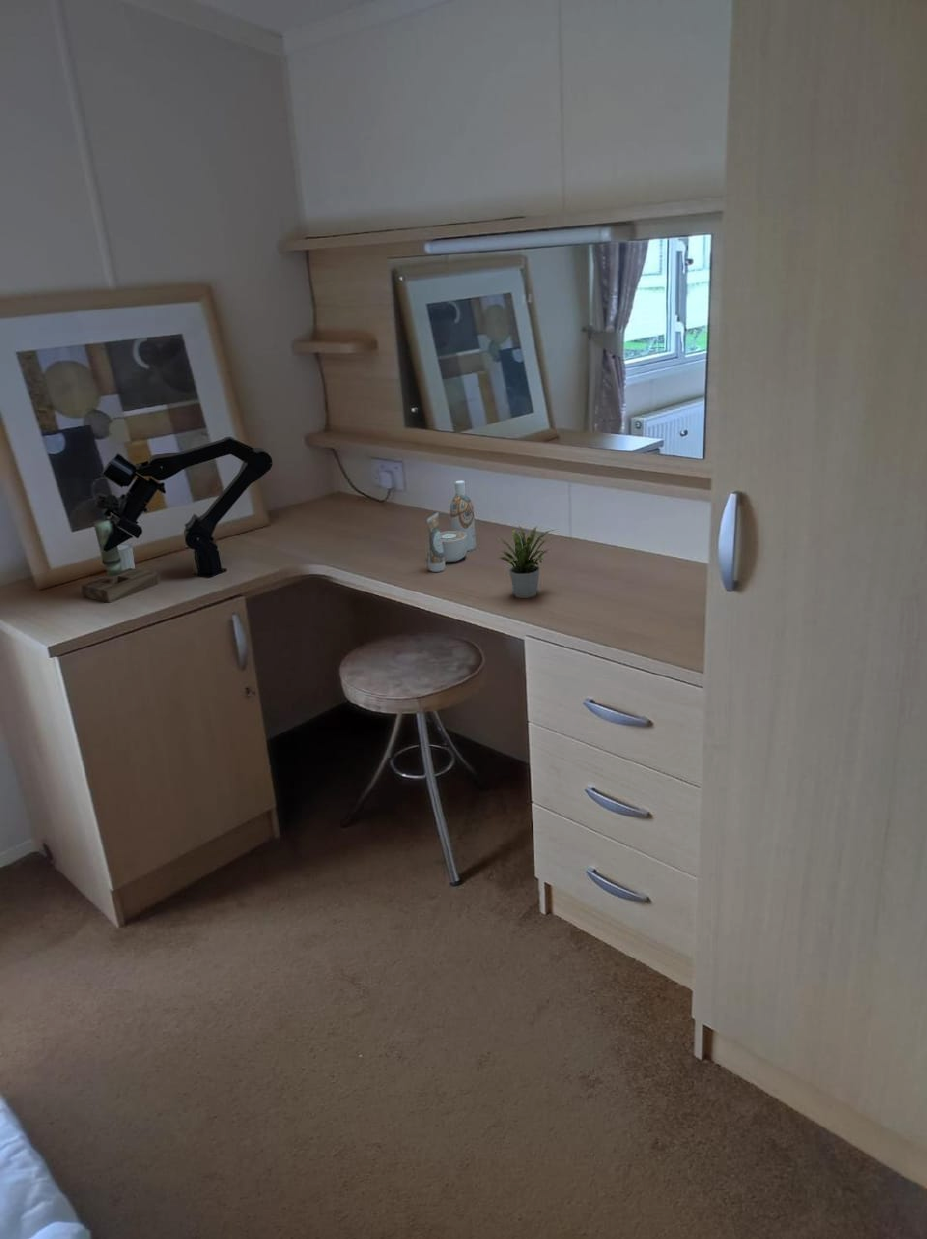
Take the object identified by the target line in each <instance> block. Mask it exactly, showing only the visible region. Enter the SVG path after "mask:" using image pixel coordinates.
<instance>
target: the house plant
mask: <svg viewBox="0 0 927 1239" xmlns="http://www.w3.org/2000/svg"><path fill="white" fill-rule="evenodd" d="M518 528H519V529H517V530H518V532H519V534H518V533H517V531H516V530H515V529H513V528H511V531H512V536H513V542H514V546H515V547H514V549H513V548H512V547H511V546H510V544H508V543H507V542H506V541H505V540H503V538H500V537H498V536H495V535H494V536H493V537H494V538H497V539H499V540H500V541H501V542H502V543H503V544H504V545H505V546H506V547H507V548H508V549H509V550H510V552H511V553H512V554H513V555H511V554H510V553H508V551H506V550H502V549H501V551H502V553H504V555H505V556H506V557H505V556H501V557H498V559H499V560H502V561H505V562H507V563H508V564H509V563H510V564H511V565H512V566H510V567H509V569H508V571H509V577H510V580H511V586H512V590H513V594H514V597H516V598H521V599H528V598H532V597H535V596H536V595H537V591H538V585H539V583H538V582H539V576H540V567H539V562H540V563H541V562H542V560H543V557H542V555H544V554H545V553H546V554H548V551H549V550H551V548H546V549H544V550H539V549H540V548H541V546H543V544H544V543H545V542H548V541H549V540H552V539H553V538H551V537H550V538H546V539H542V538H543V537H544V536H546V535H547V534H548V533H550V532H554V531H555V530H554V529H551V530H548V531H545V532H542V534H541V535H539V536H538V537H537V538H536V540H535V542H533V541H534V539H535V536H536V530H537V526H535V527H533V529H532V530H531V533H530V535H529V536H528V537H527V538H526V535H525V532H524V530H523V528H522V527H521V526H520V525H518ZM539 541H540V544H539ZM541 541H542V542H541ZM533 543H534V544H533ZM537 544H539V545H538V546H537ZM535 547H537V549H535ZM534 549H535V552H534V553H533V551H534ZM552 549H554V548H553V547H552ZM538 554H539V555H538ZM537 555H538V557H537V558H535V557H536V556H537ZM513 556H514V557H513ZM515 558H516V559H515ZM537 561H538V562H537Z"/></svg>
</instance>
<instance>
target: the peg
mask: <svg viewBox="0 0 927 1239" xmlns="http://www.w3.org/2000/svg"><path fill="white" fill-rule="evenodd" d="M110 522H111V519H104V518H101V519H98V520H94V521H93V522H92V523H93V527H94V531H95V535H96V540H97V543H98V547H99V552H100V555H101V559H102V561H101V562H102V564H103V566H105V569H106V573H107V576H114V575H118V574H121V573H122V572H121V568H120V563H119V562H120V561H121V559H120V556H119V552H118V547H117V546H116V547H114V548H113V549H111V550H109V551H108V552H106V551H104V550H103V548H104V546H105V544H106V542H107V540H108V537H109V535H110V533H111V531H112V529H111V524H110ZM111 523H112V522H111Z"/></svg>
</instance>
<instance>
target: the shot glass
mask: <svg viewBox="0 0 927 1239" xmlns="http://www.w3.org/2000/svg"><path fill="white" fill-rule="evenodd" d="M117 547H118V552H119V556H120V559H121V561H120V562H119V563H120V568H121V571H123V570H126V569H128V568H133V569H136V566H135V564H136V563H135V558H134V551H133V550H134V548H133V545H132V544H129V543H127V544H125V543H124V544H123V543H121V544H119V545H118V546H117Z"/></svg>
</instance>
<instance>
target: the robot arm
mask: <svg viewBox="0 0 927 1239" xmlns="http://www.w3.org/2000/svg"><path fill="white" fill-rule="evenodd" d="M228 455H231V456H233V457H235V458H237V459H239V460H241V461H242V462H243V463H242V465H241V466H240V469H239V471H238V473H237V474H236V476H234V477H233V479H232V481H231V482H230V483H229V484H228V485H227V486H225V489H224V490H223V491H222V492H221V493H220V494H219V496H218V497H217V498H216V499H215V501H213V503H212V504H211V505H210V506H209V508H208V509H207V510H206V511H205V512H204V513H202V515H200V516H198V515H197V514H195V513H193V515H192V517H191V518H190V520H189V521H188V522H187V523H184V526H185V528H184V529H183V537H184V540H185V541H184V542H185V544H186V546H187V547H188V548H189V549H191V550H194V551H193V554H194V560H195V566H196V570H197V571H194V572H193V575H195V576H199V577H204V578H212V577H214V576H217V575H219V574H222V573H224V572H226V571H227V567H222V562H221V556H220V551H219V549H218V548H219V546H218V543H217V541H216V539H215V537H214V536H213V534H214V532H215V530H216V527H217V526H218V523H220V521H221V520H222V519H223V517H225V515H226V514H227V513H228V512H229V511H230V509H231V508H232V507H233V505H235V503H236V502H237V501H238V499H240V498H241V496H242V495H243V494H244V492H246V491H247V489H248V488H249V487H250V486H251V484H253V483H255V482H256V481H258V480H259V479H261V478H262V477H263V476H265V475H266V474H267V473H269V471H271V468H272V466H273V458H272V456H271V455H270V454H269V453H268V451H267V450H266V449H264V448H261V447H252V446H250V445H248V444H245V443H243V442H241V441H240V440H237V439H235V438H234V437H232V436H225V437H224V438H222V439H218V440H216V441H213V442H209V443H205V444H203V445H200V446H197V447H193V448H190V449H186V450H183V451H178V452H165V453H156V454H154V455H152V456H150V457H149V459H148V460H146V461H143V462H139V463H136V464H135V463H133V462H131V461H130V460H128V459H127V458H125V457H124V456H123V455H122V454H121V453H119V452H118V453H116V454H115V455H114V457H112V458H111V460H110V461H109V462H108V463H107V464H106V466H105V467H104V469H103V471H102V472H101V476H103V477H104V478H106V479H108V480H109V481H110V482H112V483H114V484H115V485H117V486H119V487H120V488H123V487H128V488H129V487H130V488H129V489H128V491H127V492H126V493H123V494H121V495H120V496H119V497H118V496H117V497H116V495H115V494H110V493H107V494H105V493H100V492H96V493H95V500H94V503H93V505H94V506H95V507H96V508H98V509H102V511H101V513H102V514H103V515H104V516H103V519H111V522H112V523H111V522H110V524H111V529H112V531H111V533H110V535H109V537H108V540H107V542H106V544H105V546H104V548H103V550H104V551H106V552H108V551H109V550H111V549H113V548H114V547H116V546H118V545H122V544H123V543H124V542H126V541H128V540H130V539H132V538H136V539H139V538H140V536H141V535H142V534H143V529H142V526H140V525H139V522H138V520H139V518H140V517H141V515H142V514H143V513H146V512H147V511H148V508H147V506H148V505H149V504H150V502H151V501H152V499H153V497H154V496H155V495H156V493H157V492H158V491H159V492H161V493H163V494H166V493H167V490H166V487H165V485H166V484H165V482H164V481H166V480H167V479H169V478H172V477H173V476H175V475H177V474H179V473H180V472H181V471H183V470H185V469H187V468H189V467H190V468H191V467H192V466H193V467H194V466H195V465H199V464H202V463H205V462H208V461H212V460H215V459H218V458H221V457H225V456H228ZM145 477H147V478H145ZM135 478H136V479H135ZM159 481H161V482H159ZM132 482H133V483H132ZM130 485H131V486H130ZM106 516H107V517H106Z"/></svg>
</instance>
